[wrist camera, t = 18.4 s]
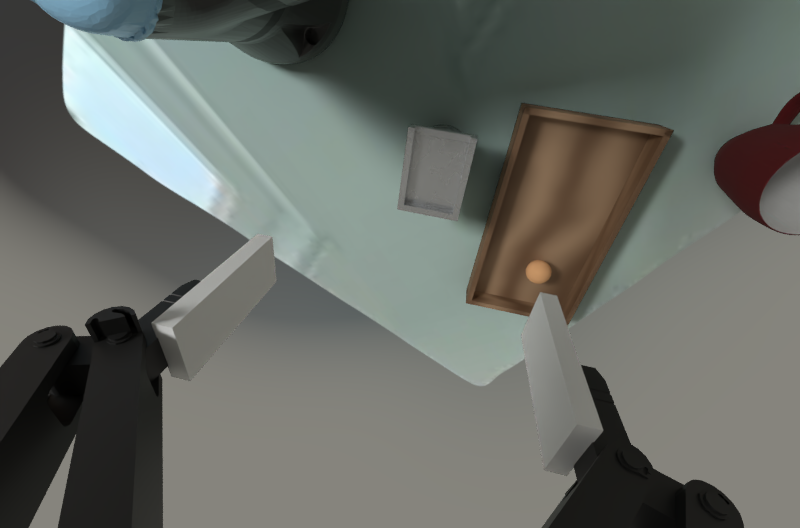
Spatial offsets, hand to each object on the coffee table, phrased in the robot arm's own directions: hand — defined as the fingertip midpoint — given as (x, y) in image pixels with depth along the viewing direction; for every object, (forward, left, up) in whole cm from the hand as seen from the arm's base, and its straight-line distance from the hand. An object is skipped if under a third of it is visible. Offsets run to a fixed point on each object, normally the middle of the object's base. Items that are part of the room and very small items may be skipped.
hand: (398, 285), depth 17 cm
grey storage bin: (0, 0, -27) cm, 27 cm away
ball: (+15, -13, -24) cm, 31 cm away
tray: (+14, -6, -27) cm, 31 cm away
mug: (+29, +6, -27) cm, 40 cm away
